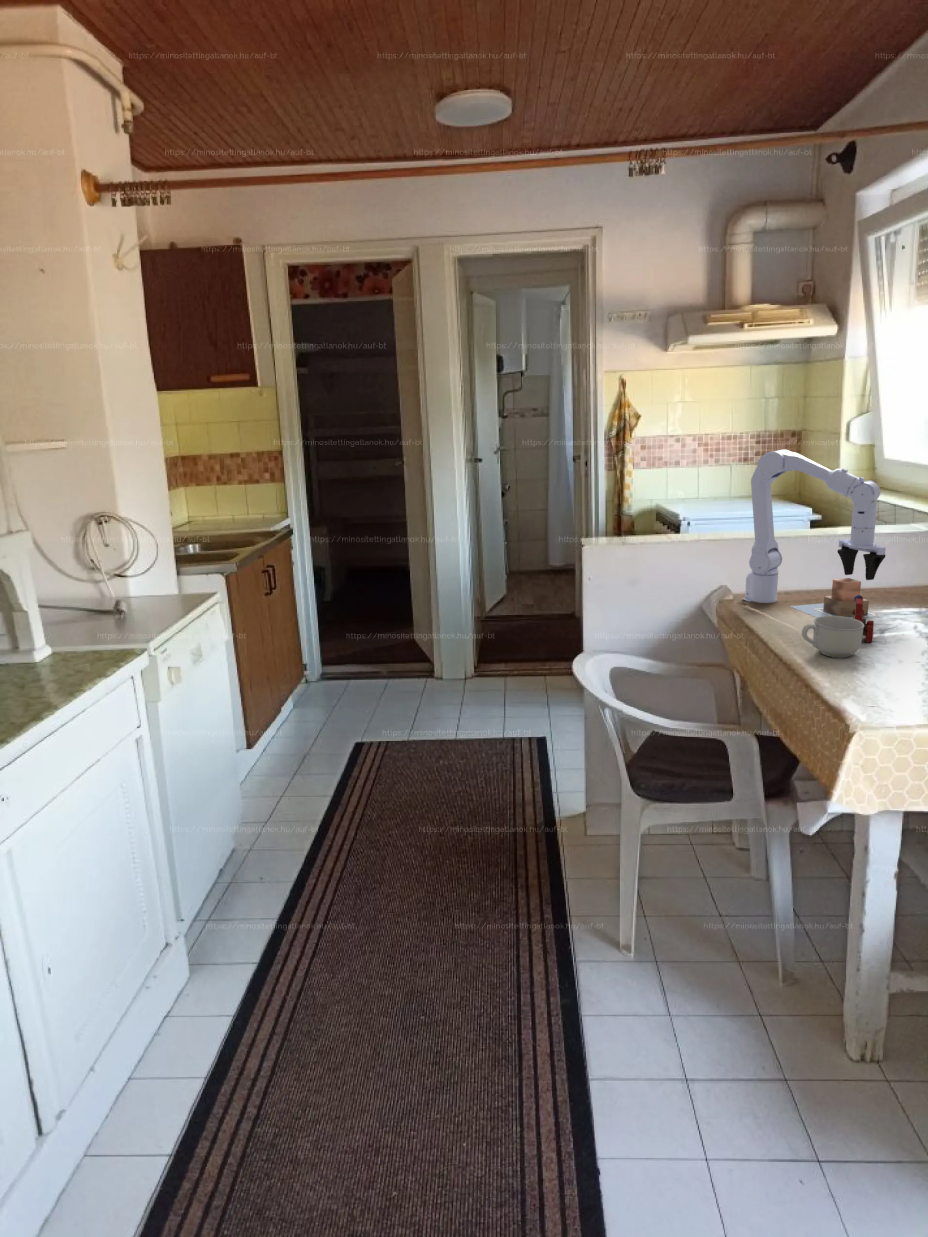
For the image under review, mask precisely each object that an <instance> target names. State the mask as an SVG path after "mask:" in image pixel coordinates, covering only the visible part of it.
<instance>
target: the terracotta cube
mask: <svg viewBox="0 0 928 1237" xmlns="http://www.w3.org/2000/svg"><path fill="white" fill-rule="evenodd" d="M861 587H862V581H861V580H858V579H854V578H851V577H846V578H834V579H832V587H831V596H832V598H835V599H838V600H841V601H851V600H854V598H855V596H857V595H861Z"/></svg>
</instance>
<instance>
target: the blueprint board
mask: <svg viewBox="0 0 928 1237" xmlns="http://www.w3.org/2000/svg"><path fill="white" fill-rule="evenodd" d="M789 607H791V608H793V609H795V610H798V611H800V612H802V613H804V614H807V615H809V616H812V617H813V618H815V619H816V618H817V617H821V616H836V615H834V614H831V613H829V612H826V611H824V610H823V608H824V602H821V603H810V604H799V605H789ZM849 618H853V616H849ZM863 618H864V619H866V620H867V619H875V618H881V615H877V614H875V613H872V612H869V611H868V615H865V616H864V617H863Z"/></svg>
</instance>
